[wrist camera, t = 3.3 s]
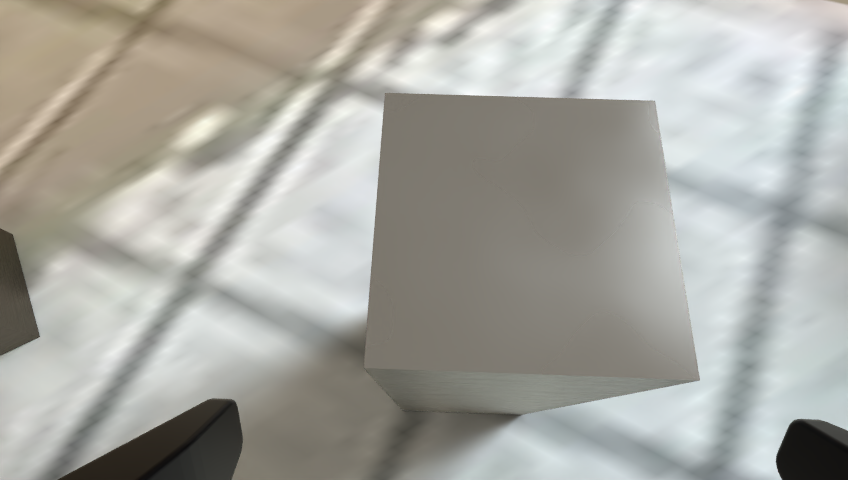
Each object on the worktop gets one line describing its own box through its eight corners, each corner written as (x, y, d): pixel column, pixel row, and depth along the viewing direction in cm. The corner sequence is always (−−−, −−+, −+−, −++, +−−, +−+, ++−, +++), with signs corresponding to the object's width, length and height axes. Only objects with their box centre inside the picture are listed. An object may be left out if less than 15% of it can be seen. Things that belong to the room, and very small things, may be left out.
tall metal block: (521, 414, 19) (699, 380, 7) (402, 410, 19) (363, 368, 7) (517, 298, 20) (654, 101, 8) (408, 294, 20) (384, 93, 8)
